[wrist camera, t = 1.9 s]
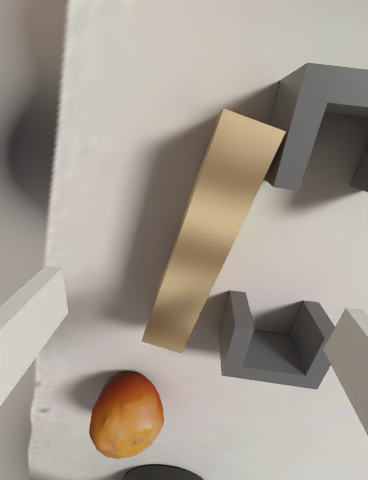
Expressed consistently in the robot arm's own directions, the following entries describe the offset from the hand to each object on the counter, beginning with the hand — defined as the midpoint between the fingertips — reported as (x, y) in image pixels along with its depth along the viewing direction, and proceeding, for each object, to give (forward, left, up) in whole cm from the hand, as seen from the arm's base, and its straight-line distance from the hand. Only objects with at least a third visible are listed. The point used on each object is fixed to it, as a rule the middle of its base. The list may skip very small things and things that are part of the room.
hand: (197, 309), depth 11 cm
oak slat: (0, 0, -10) cm, 10 cm away
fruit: (-22, +5, -10) cm, 25 cm away
